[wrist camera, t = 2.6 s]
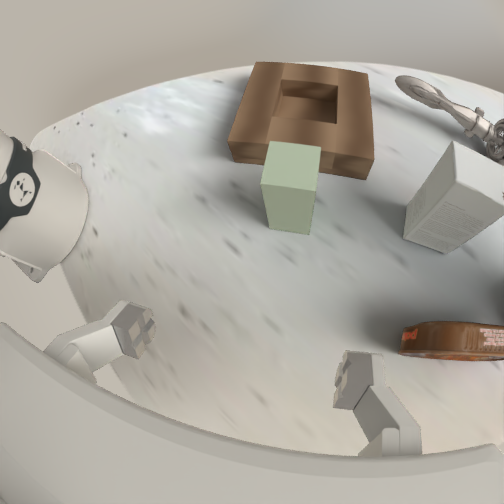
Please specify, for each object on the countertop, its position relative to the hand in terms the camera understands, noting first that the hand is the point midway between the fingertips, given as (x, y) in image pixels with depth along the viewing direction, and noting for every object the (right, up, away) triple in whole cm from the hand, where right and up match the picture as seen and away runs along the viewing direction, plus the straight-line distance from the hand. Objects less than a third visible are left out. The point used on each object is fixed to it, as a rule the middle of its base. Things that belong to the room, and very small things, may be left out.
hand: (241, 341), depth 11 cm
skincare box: (+19, +6, +15) cm, 25 cm away
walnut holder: (+7, +20, +21) cm, 30 cm away
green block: (+4, +7, +18) cm, 20 cm away
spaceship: (+35, +17, +16) cm, 42 cm away
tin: (+21, -6, +11) cm, 24 cm away
